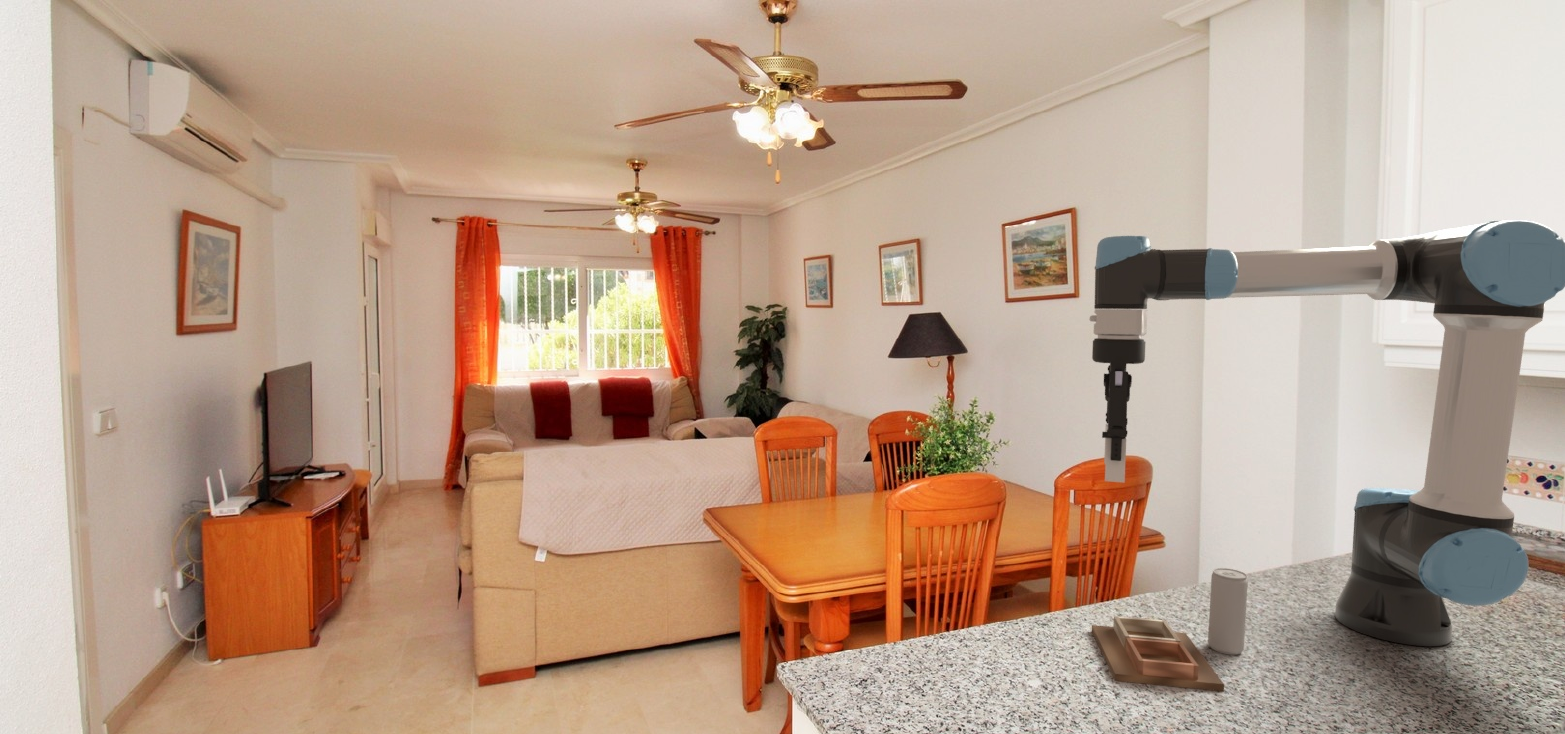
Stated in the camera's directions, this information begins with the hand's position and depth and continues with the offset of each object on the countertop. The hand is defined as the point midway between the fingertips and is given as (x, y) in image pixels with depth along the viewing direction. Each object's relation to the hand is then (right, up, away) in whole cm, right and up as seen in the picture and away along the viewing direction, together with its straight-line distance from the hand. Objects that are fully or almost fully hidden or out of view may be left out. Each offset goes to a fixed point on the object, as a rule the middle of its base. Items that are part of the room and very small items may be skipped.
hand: (1113, 472), depth 122 cm
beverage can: (+16, -27, -3) cm, 32 cm away
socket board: (+3, -27, -6) cm, 28 cm away
